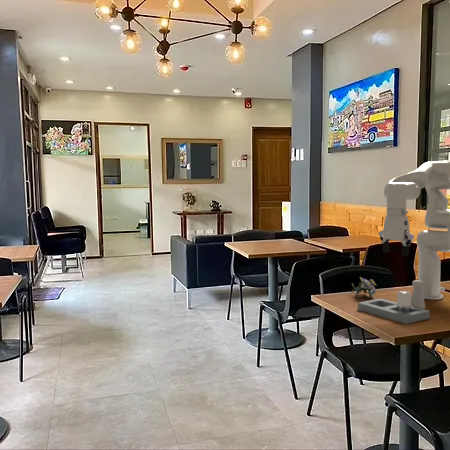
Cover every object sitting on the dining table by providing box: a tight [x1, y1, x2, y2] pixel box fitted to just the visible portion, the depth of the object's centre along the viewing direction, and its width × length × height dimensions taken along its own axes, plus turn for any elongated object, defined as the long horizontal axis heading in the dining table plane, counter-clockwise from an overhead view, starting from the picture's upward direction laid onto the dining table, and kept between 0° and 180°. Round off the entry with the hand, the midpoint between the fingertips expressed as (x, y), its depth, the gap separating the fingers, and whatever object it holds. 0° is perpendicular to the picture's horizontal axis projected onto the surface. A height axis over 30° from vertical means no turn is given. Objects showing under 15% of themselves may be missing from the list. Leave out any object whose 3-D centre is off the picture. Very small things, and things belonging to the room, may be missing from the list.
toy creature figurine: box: [351, 276, 377, 298], centre depth 210 cm, size 11×11×12 cm
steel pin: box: [396, 290, 412, 314], centre depth 177 cm, size 5×5×10 cm
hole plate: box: [357, 297, 430, 325], centre depth 182 cm, size 14×24×3 cm, turn 30°
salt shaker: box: [411, 279, 426, 310], centre depth 185 cm, size 6×6×13 cm
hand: (395, 254), depth 184 cm, fingers open, 9 cm apart
